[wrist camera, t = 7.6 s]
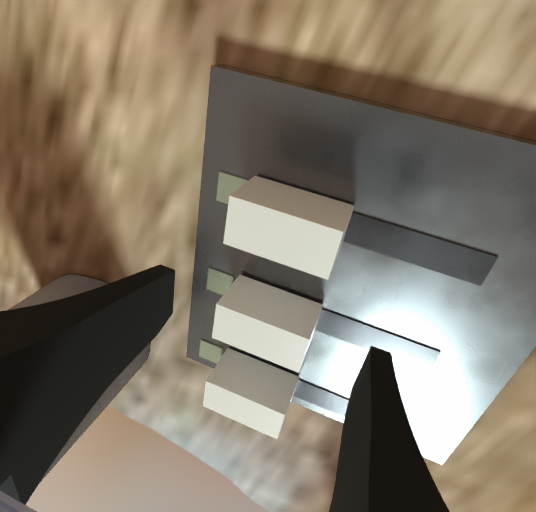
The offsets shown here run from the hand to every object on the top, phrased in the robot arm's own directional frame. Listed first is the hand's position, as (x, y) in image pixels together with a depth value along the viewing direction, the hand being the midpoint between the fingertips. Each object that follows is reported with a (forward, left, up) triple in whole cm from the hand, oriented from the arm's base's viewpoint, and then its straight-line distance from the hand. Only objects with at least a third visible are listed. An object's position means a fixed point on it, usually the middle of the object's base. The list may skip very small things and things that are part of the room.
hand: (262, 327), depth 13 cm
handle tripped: (0, -2, -7) cm, 7 cm away
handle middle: (+4, +3, -7) cm, 9 cm away
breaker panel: (0, +4, -9) cm, 9 cm away
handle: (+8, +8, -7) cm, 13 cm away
